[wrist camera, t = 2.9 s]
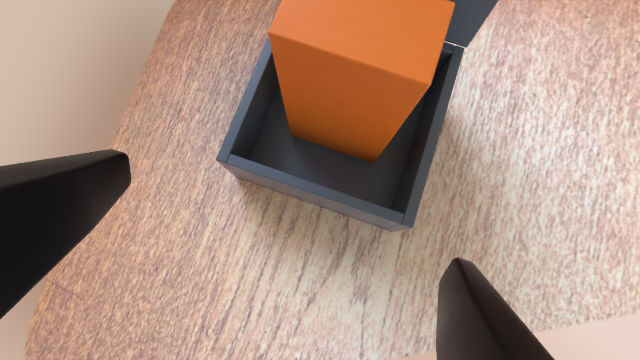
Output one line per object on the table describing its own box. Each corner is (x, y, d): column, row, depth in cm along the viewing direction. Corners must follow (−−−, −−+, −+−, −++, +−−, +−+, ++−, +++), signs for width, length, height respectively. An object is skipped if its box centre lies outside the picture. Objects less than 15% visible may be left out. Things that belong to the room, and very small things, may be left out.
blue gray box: (392, 231, 22) (412, 228, 17) (235, 177, 22) (215, 159, 18) (436, 85, 24) (464, 48, 19) (292, 38, 24) (287, -9, 20)
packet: (373, 163, 22) (431, 86, 11) (290, 135, 22) (267, 33, 11) (388, 117, 23) (456, 1, 12) (307, 90, 23) (300, -47, 12)
